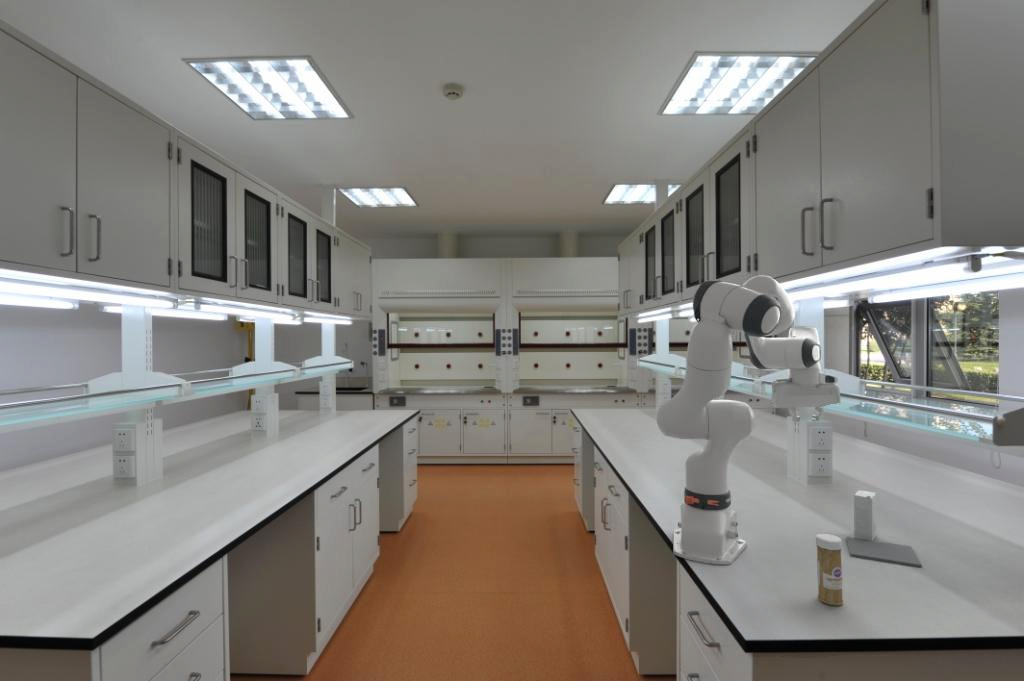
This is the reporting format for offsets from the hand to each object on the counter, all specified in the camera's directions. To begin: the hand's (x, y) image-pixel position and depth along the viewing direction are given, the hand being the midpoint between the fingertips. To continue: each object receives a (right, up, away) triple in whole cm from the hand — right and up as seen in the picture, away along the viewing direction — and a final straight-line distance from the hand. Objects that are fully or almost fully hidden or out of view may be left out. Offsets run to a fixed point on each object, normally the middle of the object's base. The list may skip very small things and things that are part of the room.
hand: (806, 421), depth 153 cm
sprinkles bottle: (-26, -30, -51) cm, 64 cm away
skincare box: (+5, -29, -19) cm, 35 cm away
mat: (+2, -29, -29) cm, 41 cm away
